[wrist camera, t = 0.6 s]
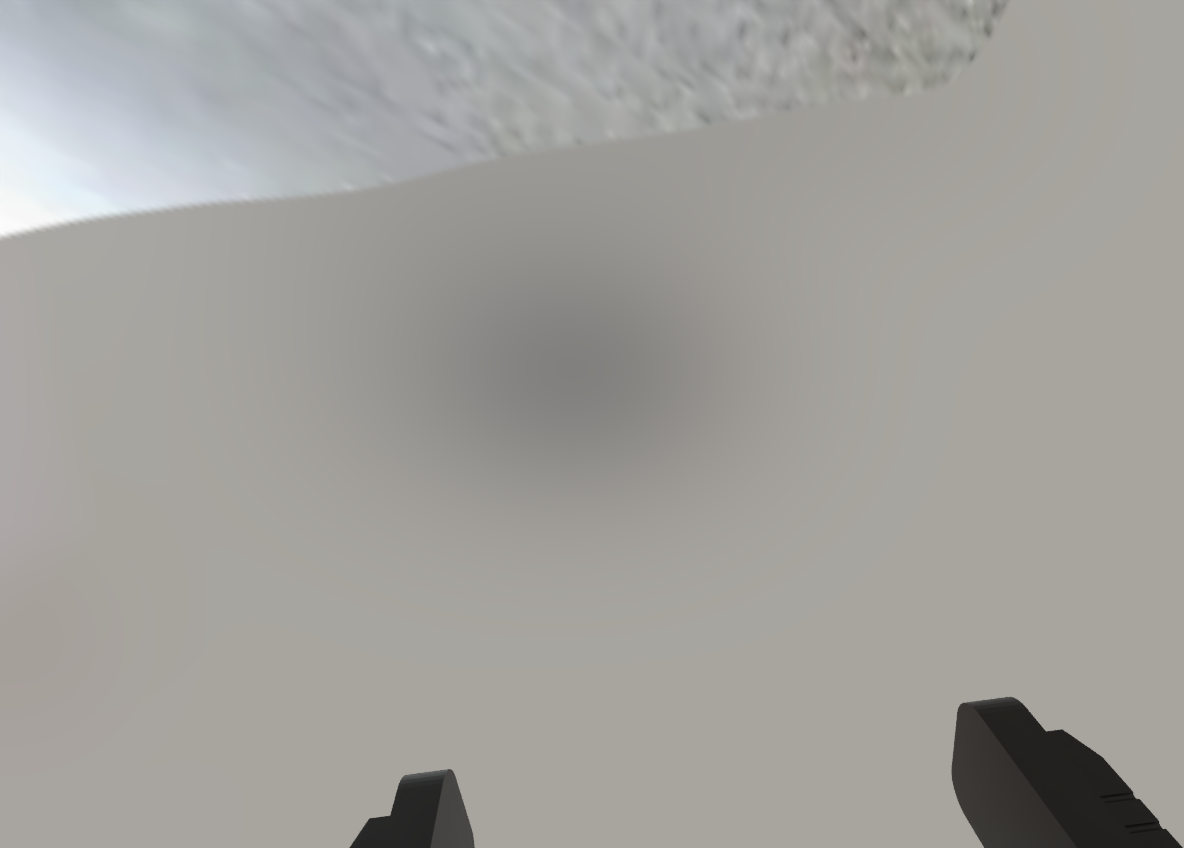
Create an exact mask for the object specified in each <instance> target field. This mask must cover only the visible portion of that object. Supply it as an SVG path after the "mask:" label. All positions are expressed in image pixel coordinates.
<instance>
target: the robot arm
mask: <svg viewBox="0 0 1184 848" xmlns="http://www.w3.org/2000/svg"><path fill="white" fill-rule="evenodd" d="M952 781H953V785H954V790H955V793H956V796H957V799H958V802H959V804H960V806H961V808H962V811H963V813H964V815H965V816H966V818H967V820H968V821H969V823H970V825H971V826H972V828H973V829H974V831H975V833H976V835H977V836H978V838H979V840H980V841H981V843H982V845H983V846H984V848H1182V846H1181V845H1180V844H1179V843H1178V842H1177V841H1176V840H1175V839H1174V838H1173V837H1172V835H1171V834H1170V833H1169V832H1168V831H1167V830H1166V829H1162V828H1161V826H1160V824H1159V821H1158V820H1157V818H1156V817H1155V816H1154V815H1153V814H1152V813H1151V812H1150V810H1149V809H1148V808H1147V807H1146V806H1145V805H1144V804H1143V802H1142V801H1141V800H1140V799H1136V798H1135V797H1134V795H1133V791H1132V790H1131V789H1130V788H1129V787H1128V786H1127V785H1126V783H1125V782H1124V781H1123V780H1122V779H1121V778H1120V777H1119V775H1118V774H1117V773H1116V772H1115V771H1114V770H1113V769H1112V768H1111V766H1110V765H1109V764H1108V763H1107V762H1106V761H1105V760H1104V758H1103V757H1101V756H1100V755H1098V754H1097V753H1096V752H1094V751H1093V750H1091V749H1090V748H1088V747H1087V746H1085V745H1084V744H1082V743H1081V742H1080V741H1078V740H1077V739H1075V738H1074V737H1072V736H1071V735H1070V734H1068V733H1067V732H1065V731H1064V730H1055V731H1047V732H1046V731H1045V730H1044V729H1043V728H1042V726H1041V725H1040V724H1039V723H1038V721H1037V720H1036V719H1035V718H1034V717H1033V715H1032V714H1031V713H1030V712H1029V711H1028V709H1027V708H1026V707H1025V706H1024V705H1023V704H1022V703H1021V702H1020V701H1019V700H1017V699H1015V698H1013V697H1005V698H997V699H990V700H982V701H975V702H967V703H962V704H961V705H960V706H959V708H958V712H957V721H956V732H955V741H954V751H953V761H952ZM350 848H475V847H474V839H473V833H472V829H471V826H470V823H469V819H468V816H467V813H466V810H465V806H464V803H463V800H462V797H461V793H460V790H459V787H458V784H457V780H456V777H455V774H454V772H453V771H452V770H451V769H448V770H440V771H433V772H425V773H418V774H411V775H405V776H404V777H403V778H402V779H401V781H400V783H399V786H398V789H397V793H396V796H395V801H394V804H393V808H392V811H391V815H390V816H385V817H378V818H370V819H369V820H368V822H367V823H366V824H365V826H364V827H363V829H362V830H361V832H360V833H359V835H358V836H357V838H356V839H355V841H354V842H353V844H352V845H351V847H350Z"/></svg>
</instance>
